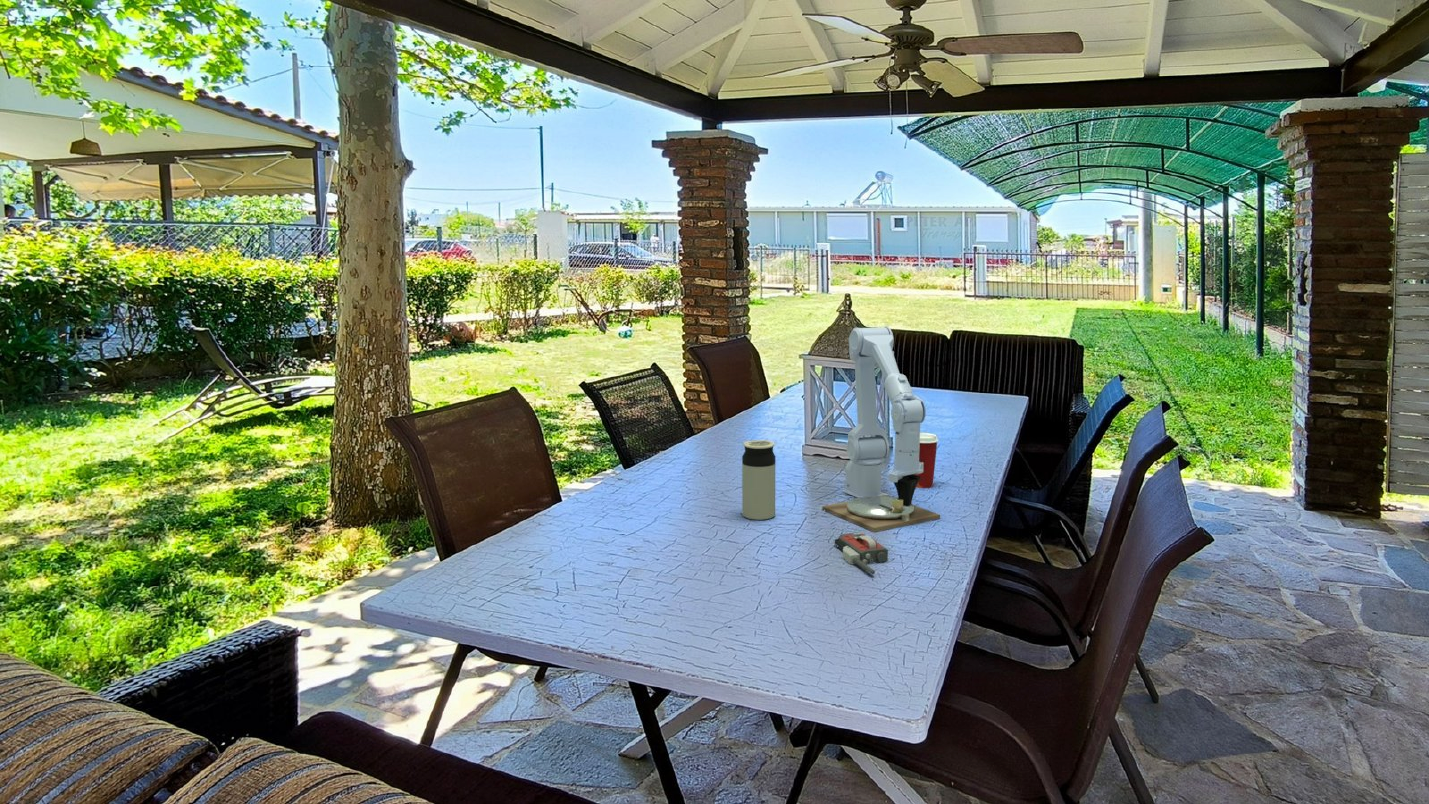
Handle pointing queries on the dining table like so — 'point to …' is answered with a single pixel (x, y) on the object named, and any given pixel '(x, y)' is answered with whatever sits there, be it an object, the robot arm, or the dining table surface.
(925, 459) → the paper cup
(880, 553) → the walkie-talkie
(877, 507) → the capstan dial
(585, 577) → the dining table surface
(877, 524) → the dial base
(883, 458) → the robot arm
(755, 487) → the travel mug
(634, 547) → the dining table surface
